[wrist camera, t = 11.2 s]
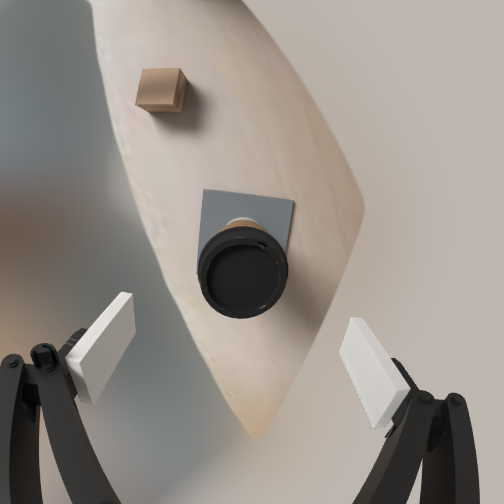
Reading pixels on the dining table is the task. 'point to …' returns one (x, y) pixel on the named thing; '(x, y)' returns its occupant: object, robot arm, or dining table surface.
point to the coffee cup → (242, 270)
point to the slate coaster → (243, 214)
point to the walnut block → (161, 90)
